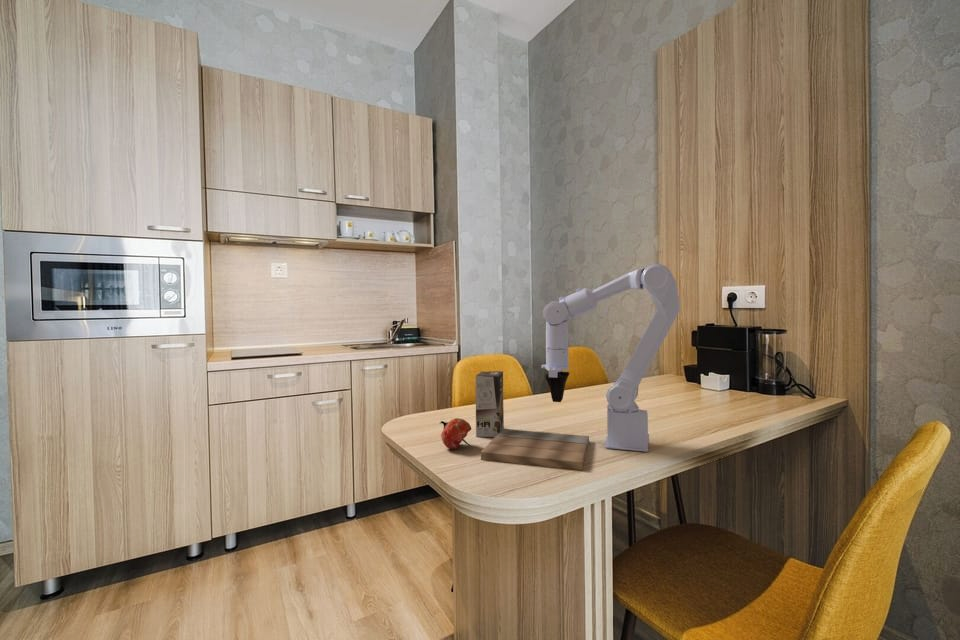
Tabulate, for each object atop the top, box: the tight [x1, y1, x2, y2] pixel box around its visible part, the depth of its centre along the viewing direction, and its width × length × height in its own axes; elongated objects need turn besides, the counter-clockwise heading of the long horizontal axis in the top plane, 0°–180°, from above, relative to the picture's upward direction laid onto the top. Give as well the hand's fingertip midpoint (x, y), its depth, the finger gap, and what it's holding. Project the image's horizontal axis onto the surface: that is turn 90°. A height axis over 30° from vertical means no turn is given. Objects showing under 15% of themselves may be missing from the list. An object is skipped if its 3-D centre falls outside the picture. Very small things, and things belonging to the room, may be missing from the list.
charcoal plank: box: [497, 428, 590, 449], centre depth 106 cm, size 22×7×2 cm, turn 71°
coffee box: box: [474, 370, 505, 439], centre depth 114 cm, size 9×6×16 cm
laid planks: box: [480, 436, 588, 471], centre depth 97 cm, size 22×12×2 cm, turn 71°
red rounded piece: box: [439, 417, 474, 451], centre depth 103 cm, size 7×7×10 cm
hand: (557, 400), depth 110 cm, fingers closed
